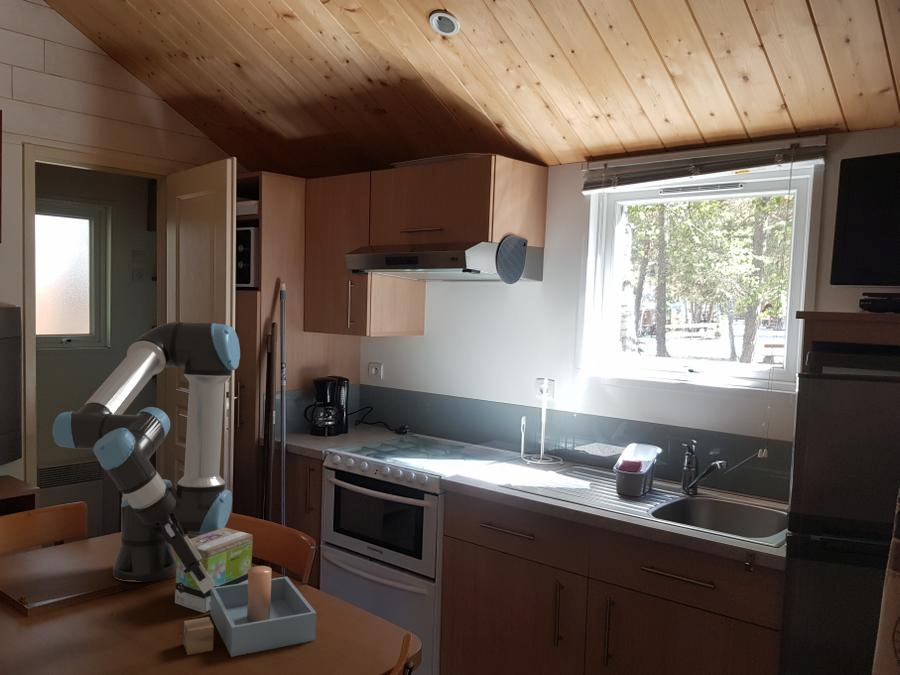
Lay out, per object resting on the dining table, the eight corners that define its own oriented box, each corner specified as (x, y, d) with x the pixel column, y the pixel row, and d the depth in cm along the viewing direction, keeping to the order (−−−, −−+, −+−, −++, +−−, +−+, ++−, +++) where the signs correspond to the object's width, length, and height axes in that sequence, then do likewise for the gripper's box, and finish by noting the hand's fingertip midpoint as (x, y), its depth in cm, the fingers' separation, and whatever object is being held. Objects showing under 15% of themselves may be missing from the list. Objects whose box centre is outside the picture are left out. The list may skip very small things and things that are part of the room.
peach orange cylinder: (244, 615, 164) (245, 567, 163) (266, 612, 166) (268, 564, 166) (250, 625, 160) (251, 575, 159) (272, 621, 162) (274, 572, 161)
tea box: (205, 614, 166) (207, 550, 165) (173, 604, 171) (175, 542, 170) (252, 592, 179) (253, 532, 179) (221, 583, 184) (222, 525, 183)
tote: (210, 613, 166) (210, 587, 166) (286, 601, 175) (286, 576, 175) (231, 656, 148) (232, 627, 147) (315, 640, 156) (316, 612, 156)
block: (183, 644, 152) (184, 621, 152) (208, 640, 154) (209, 616, 154) (187, 655, 148) (187, 631, 147) (213, 650, 150) (213, 626, 150)
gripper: (125, 488, 158) (176, 561, 166) (141, 532, 136) (198, 613, 144) (157, 468, 160) (206, 540, 168) (178, 509, 139) (232, 589, 147)
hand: (202, 574), depth 156 cm, fingers open, 13 cm apart
